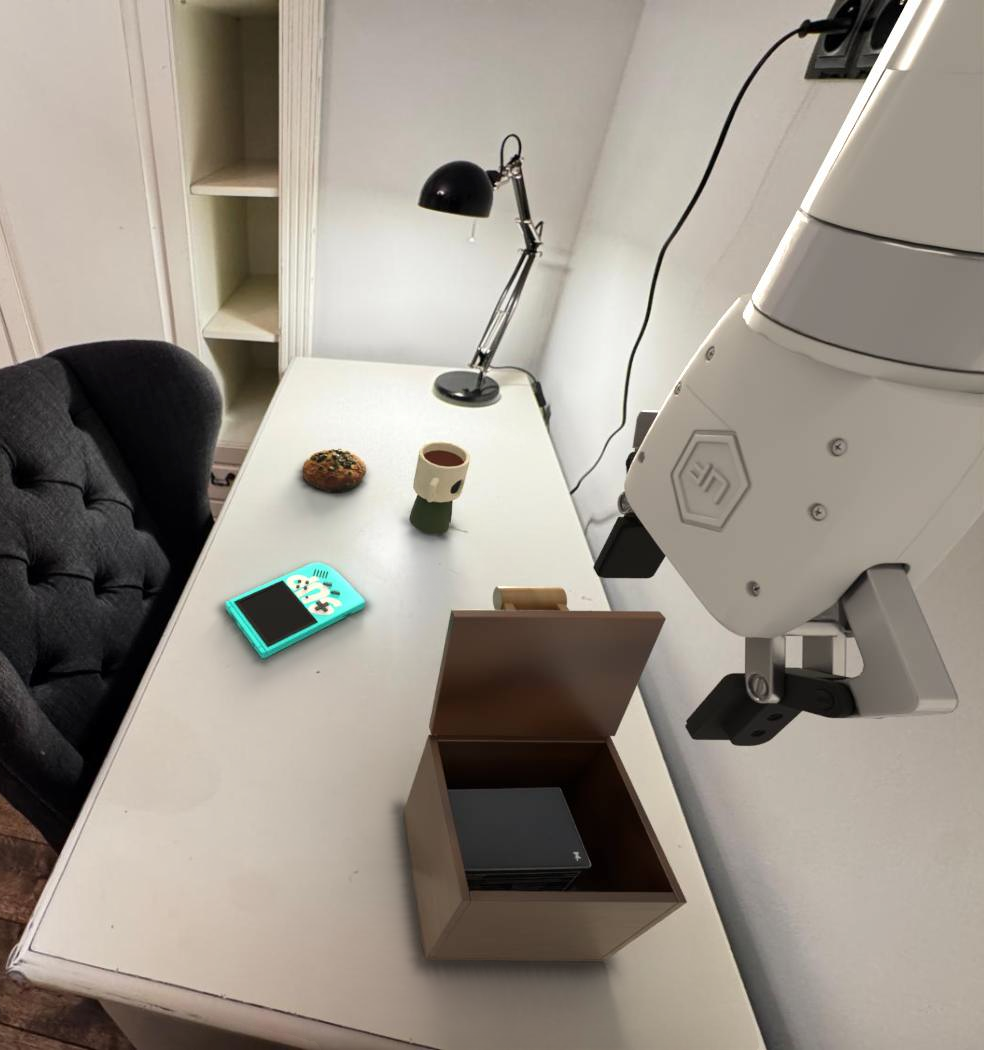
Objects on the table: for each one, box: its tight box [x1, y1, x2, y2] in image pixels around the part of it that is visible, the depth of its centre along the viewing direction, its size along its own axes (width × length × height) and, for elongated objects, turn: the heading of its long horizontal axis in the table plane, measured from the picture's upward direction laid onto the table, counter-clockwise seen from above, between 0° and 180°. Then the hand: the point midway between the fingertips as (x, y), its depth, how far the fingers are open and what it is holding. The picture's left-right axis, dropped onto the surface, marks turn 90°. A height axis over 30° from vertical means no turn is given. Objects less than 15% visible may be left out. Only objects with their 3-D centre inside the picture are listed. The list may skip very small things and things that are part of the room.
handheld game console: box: [225, 562, 366, 659], centre depth 75 cm, size 10×16×1 cm, turn 122°
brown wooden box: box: [402, 733, 688, 962], centre depth 46 cm, size 12×15×15 cm
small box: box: [448, 787, 591, 891], centre depth 47 cm, size 11×6×10 cm, turn 91°
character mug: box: [408, 440, 471, 536], centre depth 84 cm, size 11×7×13 cm, turn 154°
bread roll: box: [301, 448, 367, 494], centre depth 97 cm, size 11×11×5 cm
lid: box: [428, 586, 666, 737], centre depth 45 cm, size 12×15×6 cm
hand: (665, 643), depth 28 cm, fingers open, 9 cm apart
